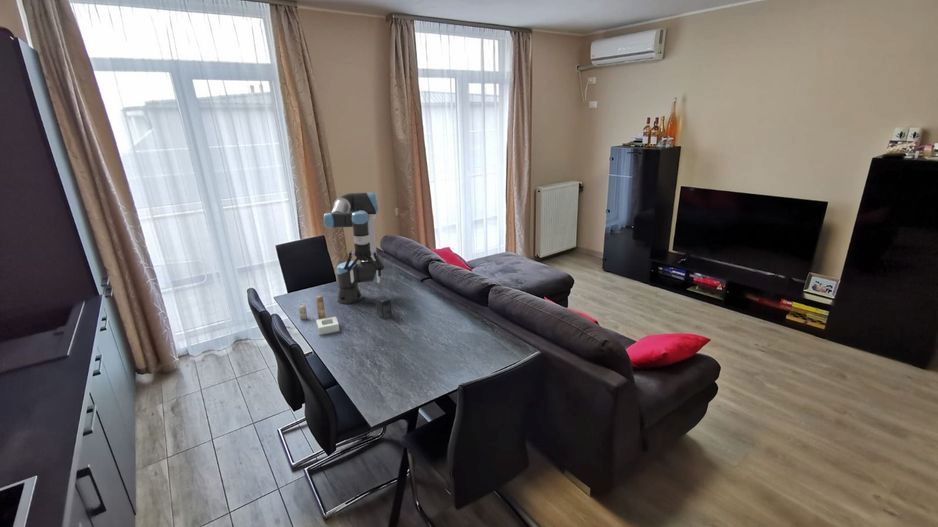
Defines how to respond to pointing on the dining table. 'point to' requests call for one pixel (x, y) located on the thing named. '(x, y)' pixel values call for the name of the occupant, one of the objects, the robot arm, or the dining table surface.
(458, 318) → the dining table surface
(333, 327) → the hole block
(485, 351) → the dining table surface
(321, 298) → the long pin
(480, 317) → the dining table surface
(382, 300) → the box
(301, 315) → the short pin
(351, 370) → the dining table surface
